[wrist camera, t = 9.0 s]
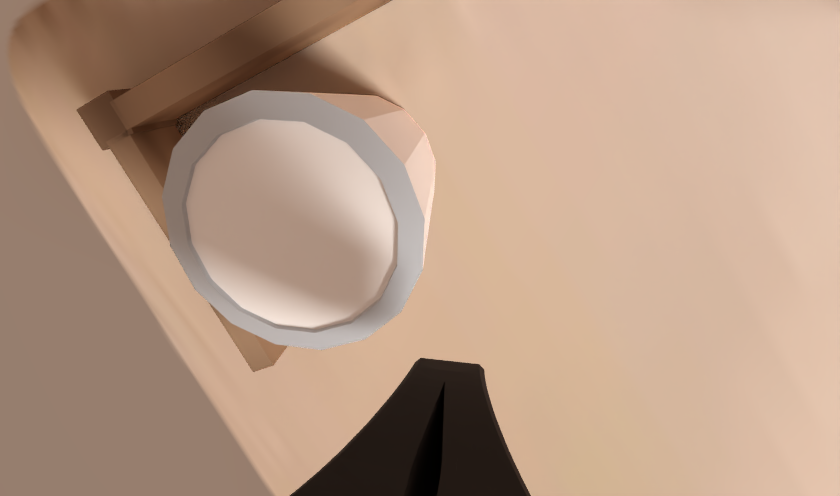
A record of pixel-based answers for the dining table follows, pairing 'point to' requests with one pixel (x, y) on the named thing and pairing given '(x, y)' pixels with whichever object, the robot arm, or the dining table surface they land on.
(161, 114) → the corner stop
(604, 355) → the dining table surface
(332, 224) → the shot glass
